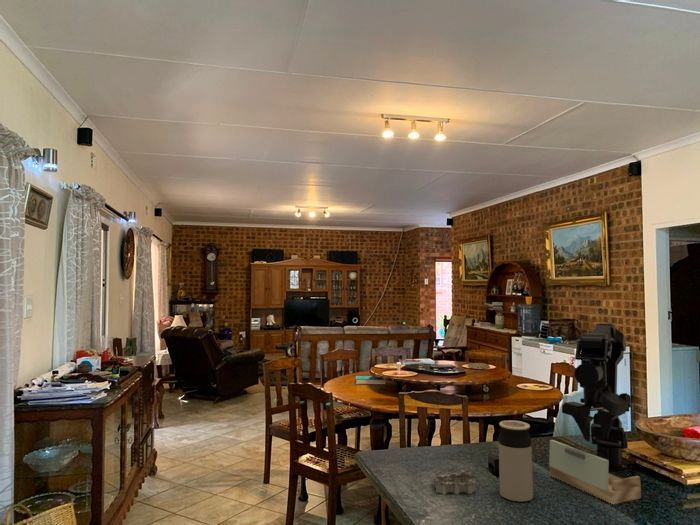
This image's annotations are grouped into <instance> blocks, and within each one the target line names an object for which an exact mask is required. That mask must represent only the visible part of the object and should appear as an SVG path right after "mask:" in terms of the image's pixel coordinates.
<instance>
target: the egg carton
mask: <svg viewBox="0 0 700 525" xmlns="http://www.w3.org/2000/svg"><path fill="white" fill-rule="evenodd" d="M431 477H432V480H433V481H432V482H433V488H435V492H436V493H437V494H441V495H447V494H448V493H452V494H454V495H460V493H467V494H468V495H469V494H470V495H472V494H473V493H474V492H476V485H477V483H476V481H475V479H474V478H473V476H472V474H471V472H470V470H469V469H461V470H458V471H457V472H451V473H450V474H446V473H445V474H441V475H437V474H436V475H435V474H433V475H431Z"/></svg>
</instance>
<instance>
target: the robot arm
mask: <svg viewBox="0 0 700 525" xmlns="http://www.w3.org/2000/svg"><path fill="white" fill-rule="evenodd" d="M626 350H627V342H626V338H625V334H624V333H623V332H622V331H620V330H618V329H617V328H616V325H615V324H613V323H602V322H601V323H598V324H597V323H596V324H595V327H594V329H593V330H592V331H591V332H590V333H589V332H585V333H581V334H580V335H579V337H578V338H577V341H576V348H575V356H574V359H575V360H576V361H580V364H579V365H578V366H576V367H575V370H574V378H575V380H576V381H577V383H579V388H583V397H581V398H580V400H579V402H577V401H567V402H565V401H564V402H563V404H561V412H562V414H565V415H568V416H570V417H572V418H573V420H574V421H575V424H577V427H578V429H579V430H580V433H581V434H582V436H583V438H584V440H585V441H586V442H590V440H591V445H596V456H598V457H601V458H603V459H606V460H609V467H608V471H612V472H613V471H618V470H623V469H627V465H625V464H623V458H622V456H623V454H622V450H625V449H628V448H629V444H628V436H627V433H626V432H625V428H624V427H623V423H622V421H621V418H620V417H619V416H623V415H625V414H626V413H628V412H630V408H632V398H631V395H630V394H628V393H627V392H624V393H623V392H622V393H620V394H619V393H618V392H617V391H618V388H617V387H618V365H619V364H620V363H621V361H622V360H623V359H624V355H625V354H624V352H626ZM593 411H594V412H595V411H596V413H594V415H593V416H591V412H593ZM591 422H592V423H591Z"/></svg>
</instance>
